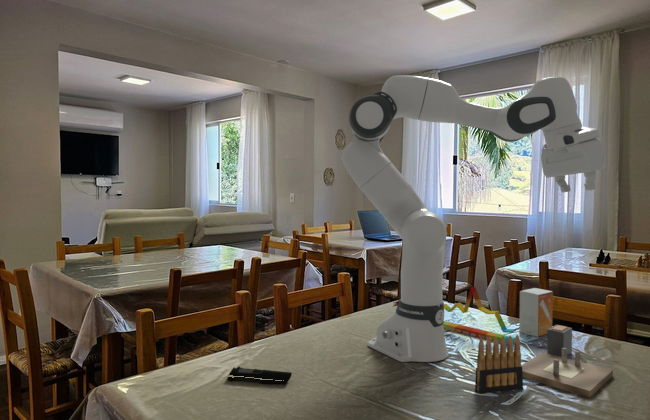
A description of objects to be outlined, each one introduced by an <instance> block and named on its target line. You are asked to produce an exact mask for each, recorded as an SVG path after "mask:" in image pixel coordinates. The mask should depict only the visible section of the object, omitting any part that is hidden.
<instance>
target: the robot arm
mask: <svg viewBox="0 0 650 420" xmlns="http://www.w3.org/2000/svg"><path fill="white" fill-rule="evenodd" d="M577 109H578V106H577V100H576V97H575V94H574V91H573V88H572V86H571V84H570V82H569V81H568V79H567V78H565V77H562V76H549V77H544V78H541V79H538V80H537V81H535V82H534V84H533V85H532V86H531V87H530V88H529V89H528V90H527V91H526V92H525V93H524V94H522V95H521V96H520V97H518V98H517V99H515V100H514V101H513V102H511V103H509V104H508V105H506V106H502V107H498V108H497V107H490V106H485V105H481V104H478V103H473V102H469V101H466V100H464V99H463V98H462V97H461V96H460V95H459V94H458V91H457V90H456V88H455V87H454V86H453V85H452V84H451V83H448V82H445V81H443V80H439V79H437V78H430V77H424V76H417V75H404V74H403V75H392V76H390V77H388V78H387V79H386V80H385V82H384V84H383V85H382V88H381V91H378V92H374V93H372V94H369V95H365V96H364V97H361V98H359V99H358V100H356V101H355V102H354V103H353V105H352V106H351V108H350V111H349V113H348V114H349V115H348V122H349V127H350V130H351V133H352V140H351V142H349V143H348V144H347V145H346V147H345V148H344V149H343V152H342V154H341V162H342V164H343V167H345V170H346V171H347V173H348V174H349V176H350V177H351V179H352V180H353V182H354V183H355V184H356V186H357V187H358V189H359V190H360V191H361V192H362V193H363V195H364V196H366V198H367V199H368V200H369V201H370V203H371V204H372V205H373V207H375V209H376V210H377V211H378V212H379V213H380V215H381V216H382V217H383V218H384V219H385V221H386V222H387V223H388V224H389V225H390V226H391V228H392V229H393V230H394V231H395V232H396V234H397V235H398V236H399V237H400V239H401V240H402V244H401V245H402V247H401V248H402V250H401V268H400V299H398V300H397V301H394V302H393V305H392V307H396V308H395V312H393V313H392V314H391V315H389V316H388V317H387V318H385V319H384V320H382V321H381V322H380V323H379V324H378V326H377V329H376V335H375V337H373V338H371V339H370V340H369V341H368V342H367V345H368V347H370V348H371V349H374V350H376V351H377V352H380V353H381V354H384V355H386V356H388V357H390V358H392V359H394V360H396V361H398V362H402V363H408V362H418V363H431V362H434V363H435V362H438V361H443V360H445V359H446V358H448V357H449V355H450V354H449V351H448V346H447V343H446V336H445V331H444V330H445V329H444V328H443V322H444V321H445V309H444V304H445V303H444V301H443V272H444V263H445V256H446V245H447V244H446V243H447V227H446V224H445V222H444V220H443V219H442V218H441V217H440V216H439V215H438V214H436V213H434V212H431V210H430V209H429V208H428V207H427V206H426V205H425V203H424V201H423V200H422V199H421V198H420V196H419V195H418V194H417V192H416V191H415V190H414V188H413V187H412V185H411V184H410V183H409V181H407V179H406V178H405V177H404V175H403V174H402V173H401V172H400V171H399V170H398V169H397V167H396V166H395V164H393V162H392V161H391V160H390V159H389V158H388V156H387V155H386V154H385V153H384V152H383V150H382V148H381V145H380V144H381V142H382V140H383V139H384V137H385V136H386V134H387V133H388V131H389V130H390V127H391V123H392V121H394V120H395V119H399V118H408V119H412V120H418V121H422V122H427V123H429V122H430V123H445V124H457V125H461V126H462V125H463V126H466V127H471V128H475V129H478V130H484V131H486V132H489V133H490V134H492V135H494V136H495V137H496V138H498V139H500V140H501V141H503V142H507V143H515V142H517V141H520V140H521V139H524V138H527V137H528V136H530V135H531V136H532V135H533V134H536V133H537V132H538V131H539V130H540V131H542V133H543V137H544V141H545V144H544V145H542V146H543V147H542V149H541V153H540V160H541V167H542V172H543V175H544V177H545V178H547V179H549V178H554V181H555V182H556V184H557V185H558V186H559V188H560V191H561V193H568V192H571V190H572V188H571V185H570V184H568V183H567V181H566V176H569V175H576V174H583V175H584V178H586V182H585V183H584V184H583V186H584V190H585V191H593V190H596V188H597V187H596V184H595V182H596V179H597V178H596V177H597V172H596V171H601V170H604V169H606V167H607V162H608V161H607V155H606V152H605V149H604V145H603V143H602V140H600V139H598V138H600V136H601V132H600V130H599V129H598V128H595V127H594V128H593V127H587V126H583V125H582V121H581V119H580V118H579V115H578V112H577V111H578V110H577Z"/></svg>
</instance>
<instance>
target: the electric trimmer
mask: <svg viewBox="0 0 650 420" xmlns="http://www.w3.org/2000/svg"><path fill="white" fill-rule="evenodd" d="M229 375H233V376H244V377H234V378H232V377H228V376H229ZM292 375H293V373H292V372H289V371H281V370H279V371H278V370H272V369H270V370H269V369H259V368H246V367H245V368H244V367H241V366H237V367H235V366H234V367H233V368H232V369H231V371H230V372H229V374H228V376H227V377H226V380H227V381H229V382H232V381H247V382H259V383H260V384H287V383H288V382H289V381H290V380H291V377H292ZM245 377H254V378H262V379H273V380H260V379H254V378H245ZM275 380H282V381H275ZM283 380H284V381H283Z"/></svg>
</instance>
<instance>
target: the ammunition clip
mask: <svg viewBox="0 0 650 420" xmlns="http://www.w3.org/2000/svg"><path fill="white" fill-rule="evenodd" d="M508 336H509V338H508V343H507V345H506V342H505V338H504V336H502V339H501V343H498V339H497V337H495V339H494V341H493V344H492V341H490V338H489V337H488V339H487V340H486V342H485V344H484V339H482V338H479V342H478V351H477V360H476V362H477V365H476V367H475V384H474V385H475V386H474V391H476V393H478V394H479V395H482V394H490V393H499V392H507V391H508V392H509V391H519V390H523V389H524V378H523V371H522V366H521V365H522V351H521V342H520V337H519V335H518V334H516V336H515V343H514V345H513V341H512V337H513V336H512V335H508ZM499 344H500V345H499Z"/></svg>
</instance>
